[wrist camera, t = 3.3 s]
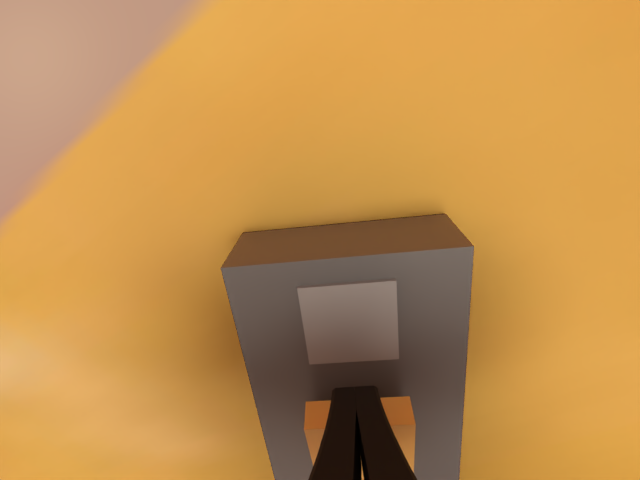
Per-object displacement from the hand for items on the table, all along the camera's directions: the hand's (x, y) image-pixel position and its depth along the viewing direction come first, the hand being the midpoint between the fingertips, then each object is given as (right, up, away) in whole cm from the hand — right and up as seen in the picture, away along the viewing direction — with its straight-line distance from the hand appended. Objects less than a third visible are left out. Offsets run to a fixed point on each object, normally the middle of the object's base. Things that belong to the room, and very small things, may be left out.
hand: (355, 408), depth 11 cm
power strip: (+1, -3, +7) cm, 7 cm away
